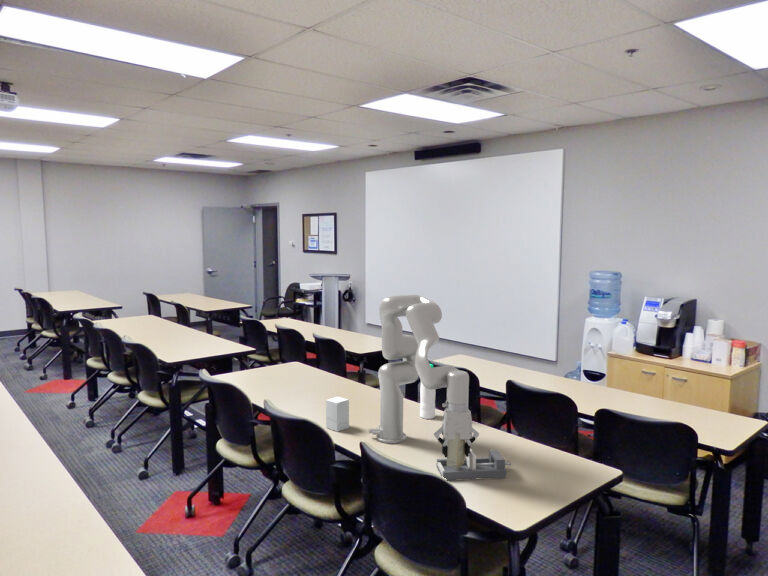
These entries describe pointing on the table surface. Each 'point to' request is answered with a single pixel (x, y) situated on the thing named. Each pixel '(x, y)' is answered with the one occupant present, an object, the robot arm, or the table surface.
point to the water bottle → (427, 402)
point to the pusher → (472, 463)
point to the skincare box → (456, 452)
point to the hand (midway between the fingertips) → (455, 455)
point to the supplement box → (337, 413)
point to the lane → (480, 471)
